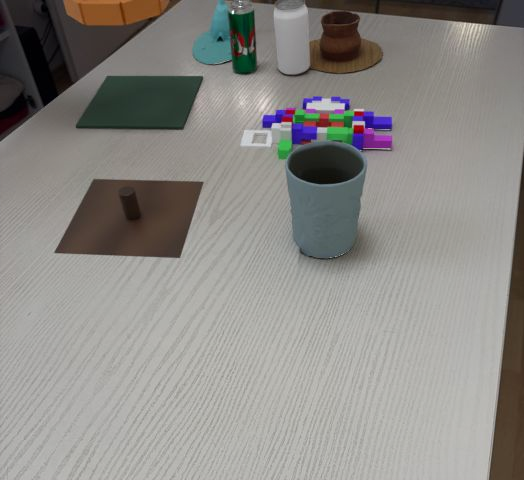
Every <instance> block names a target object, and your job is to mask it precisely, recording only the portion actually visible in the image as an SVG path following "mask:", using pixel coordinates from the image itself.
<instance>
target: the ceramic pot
mask: <svg viewBox="0 0 524 480" xmlns="http://www.w3.org/2000/svg"><path fill="white" fill-rule="evenodd" d="M360 21H361V17H360V15H359V14H358V13H356V12H355V13H354V12H351V11H346V10H333V11H330V12H328V13H326V14H324V15H322V16H321V19H320V24H321V28H322V33H321V37H320V38H318V39H313V40H311V41H309V47H310V67H309V68H308V69H311V70H317V71H320V72H326V73H335V74H338V75H340V74H343V73H344V74H347V73H350V72H351V73H353V72H358V71H363V70H366V69H368V68H369V67H374V65H375V64H376V63H378V62H380V61H381V59H382V58H383V54H384V51H383V49H382V47H381V46H380V45H379V44H378V42H375V41H372V40H368V39H366V38H361V34H360V32H359V30H358V29H359V25H360Z"/></svg>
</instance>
